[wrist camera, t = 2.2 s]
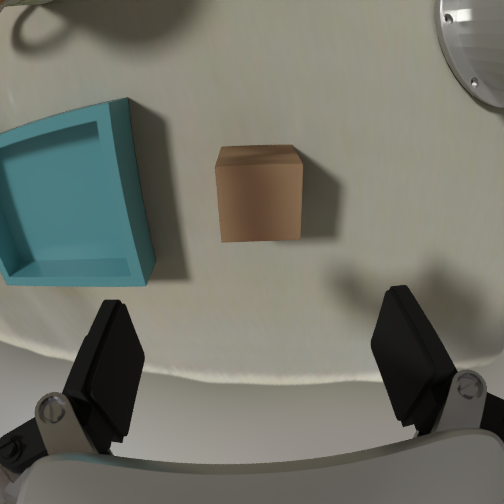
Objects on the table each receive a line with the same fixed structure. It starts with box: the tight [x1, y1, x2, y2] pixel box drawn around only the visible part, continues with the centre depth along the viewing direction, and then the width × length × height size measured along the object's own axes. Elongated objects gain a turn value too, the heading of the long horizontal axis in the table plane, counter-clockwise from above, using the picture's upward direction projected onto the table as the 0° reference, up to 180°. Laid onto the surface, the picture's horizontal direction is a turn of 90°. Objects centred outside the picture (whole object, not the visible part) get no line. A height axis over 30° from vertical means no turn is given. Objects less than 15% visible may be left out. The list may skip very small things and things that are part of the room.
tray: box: [0, 97, 156, 287], centre depth 21 cm, size 16×14×4 cm
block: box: [215, 145, 303, 242], centre depth 21 cm, size 5×5×5 cm
